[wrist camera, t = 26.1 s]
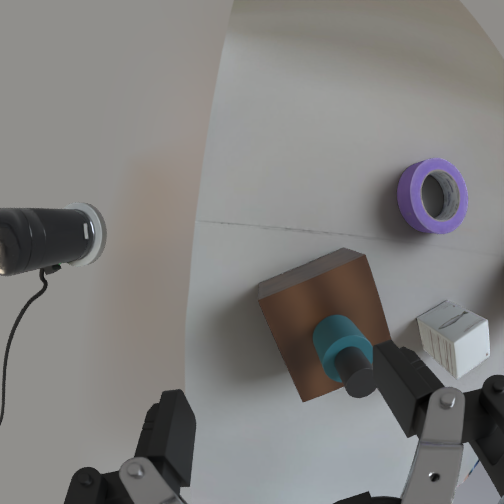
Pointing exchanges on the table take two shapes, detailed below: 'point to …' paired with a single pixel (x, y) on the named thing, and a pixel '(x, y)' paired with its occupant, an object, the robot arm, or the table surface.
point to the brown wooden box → (320, 312)
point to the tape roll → (452, 192)
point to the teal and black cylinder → (345, 354)
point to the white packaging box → (455, 337)
